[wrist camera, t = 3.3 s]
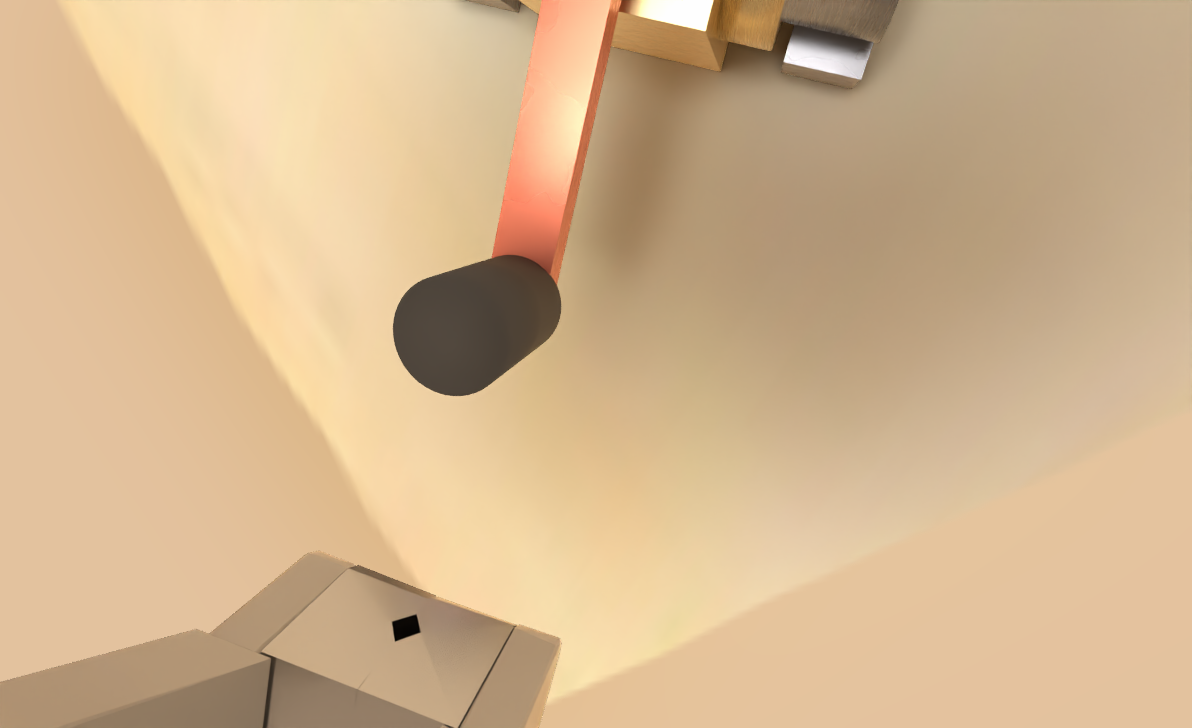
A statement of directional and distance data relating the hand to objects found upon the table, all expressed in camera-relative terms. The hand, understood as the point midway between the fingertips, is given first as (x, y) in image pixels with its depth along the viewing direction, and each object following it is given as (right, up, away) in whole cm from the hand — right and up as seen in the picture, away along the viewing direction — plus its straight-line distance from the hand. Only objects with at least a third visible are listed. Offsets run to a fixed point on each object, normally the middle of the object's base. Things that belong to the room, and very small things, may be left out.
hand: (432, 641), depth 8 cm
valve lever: (+1, +12, +14) cm, 18 cm away
